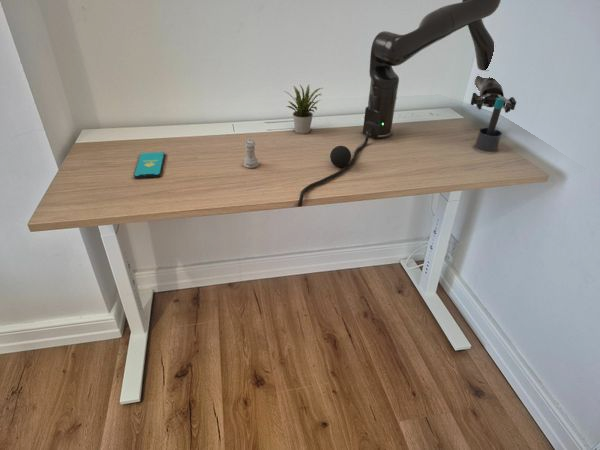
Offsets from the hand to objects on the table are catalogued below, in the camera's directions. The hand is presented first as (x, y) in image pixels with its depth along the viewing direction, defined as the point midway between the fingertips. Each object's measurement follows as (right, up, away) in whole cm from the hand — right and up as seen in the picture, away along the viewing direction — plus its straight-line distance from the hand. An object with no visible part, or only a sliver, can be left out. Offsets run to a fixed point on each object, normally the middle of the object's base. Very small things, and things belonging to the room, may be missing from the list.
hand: (494, 108), depth 141 cm
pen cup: (-2, -13, +1) cm, 14 cm away
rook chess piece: (-80, -21, -12) cm, 84 cm away
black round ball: (-53, -20, -10) cm, 57 cm away
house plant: (-63, -6, +10) cm, 64 cm away
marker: (-2, -13, +1) cm, 13 cm away
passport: (-110, -21, -14) cm, 113 cm away
